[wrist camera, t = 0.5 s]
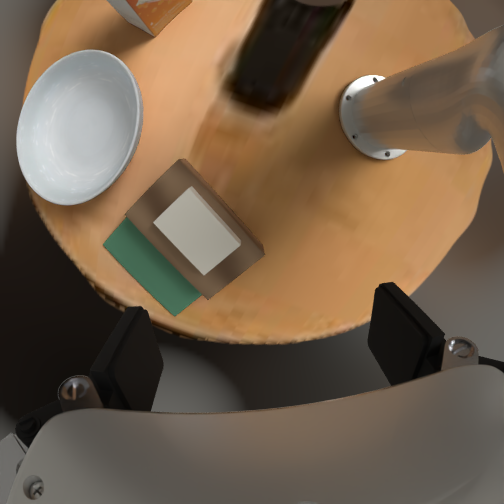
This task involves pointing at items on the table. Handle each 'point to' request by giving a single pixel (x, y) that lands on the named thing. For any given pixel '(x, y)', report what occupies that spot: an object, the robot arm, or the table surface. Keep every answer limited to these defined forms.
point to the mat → (151, 268)
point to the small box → (149, 12)
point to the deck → (143, 218)
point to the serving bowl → (79, 127)
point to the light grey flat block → (197, 231)
